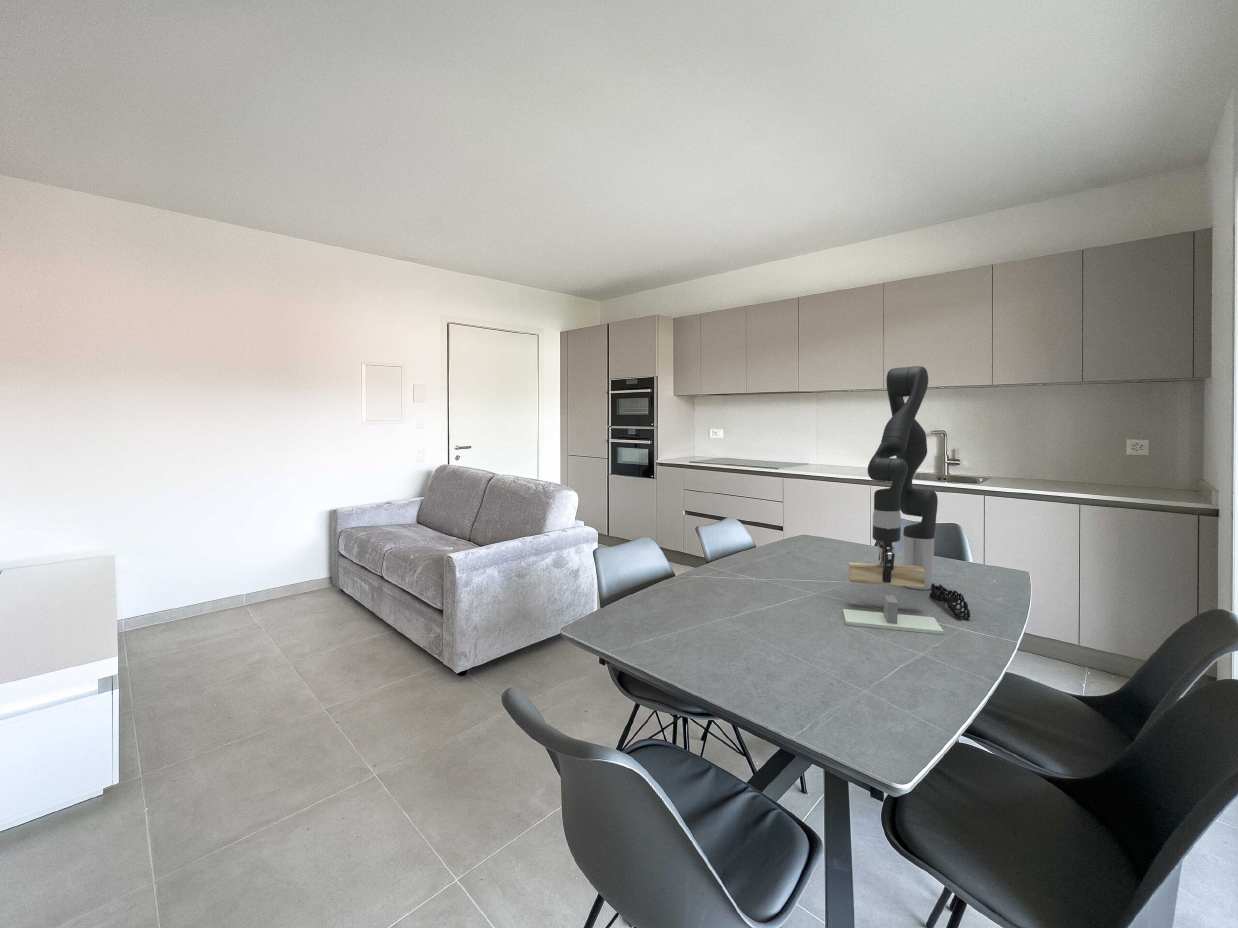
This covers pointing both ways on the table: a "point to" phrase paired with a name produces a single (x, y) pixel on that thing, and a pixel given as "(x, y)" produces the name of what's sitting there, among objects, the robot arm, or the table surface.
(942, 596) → the decorative element
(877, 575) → the plank
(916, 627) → the fulcrum
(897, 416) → the robot arm
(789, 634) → the table surface
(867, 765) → the table surface
